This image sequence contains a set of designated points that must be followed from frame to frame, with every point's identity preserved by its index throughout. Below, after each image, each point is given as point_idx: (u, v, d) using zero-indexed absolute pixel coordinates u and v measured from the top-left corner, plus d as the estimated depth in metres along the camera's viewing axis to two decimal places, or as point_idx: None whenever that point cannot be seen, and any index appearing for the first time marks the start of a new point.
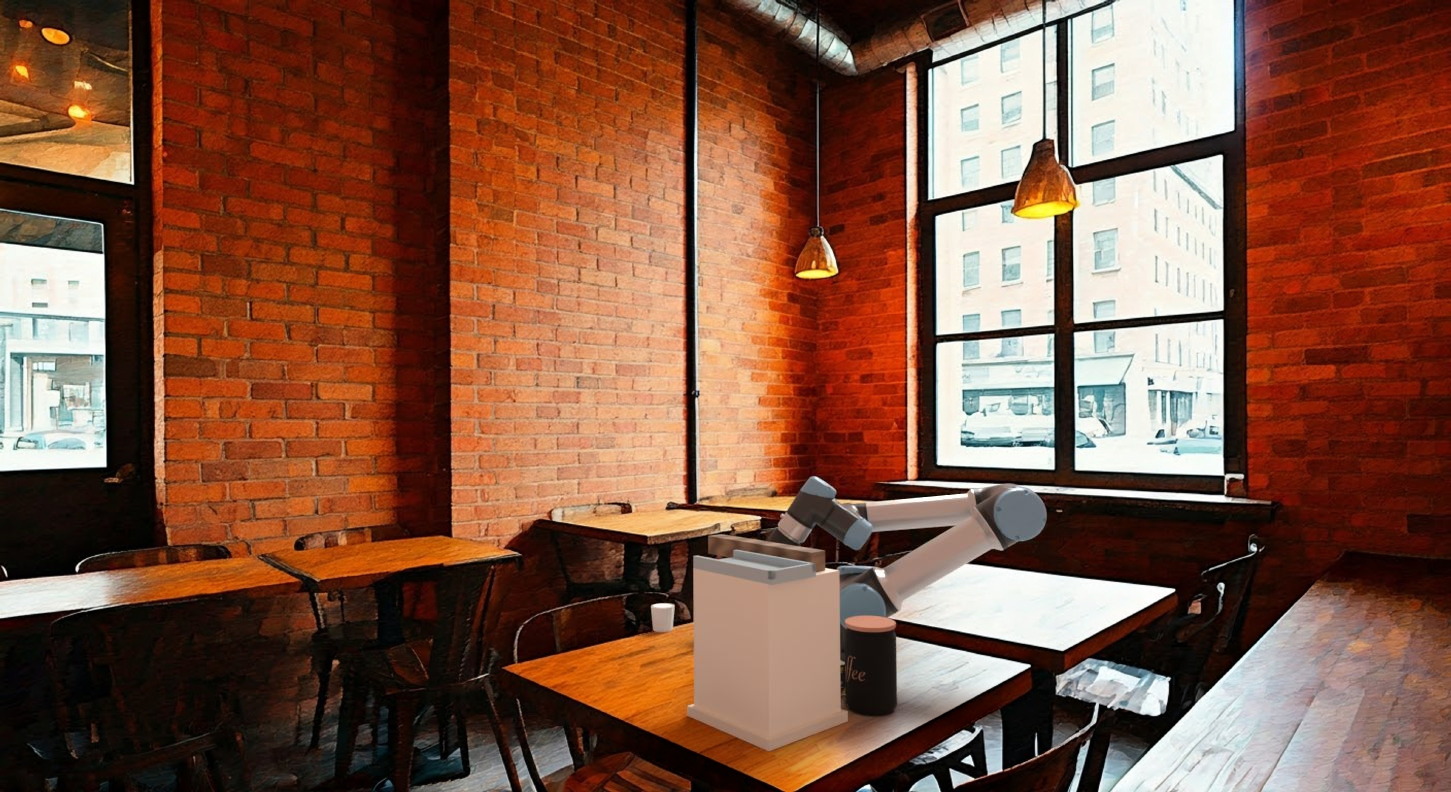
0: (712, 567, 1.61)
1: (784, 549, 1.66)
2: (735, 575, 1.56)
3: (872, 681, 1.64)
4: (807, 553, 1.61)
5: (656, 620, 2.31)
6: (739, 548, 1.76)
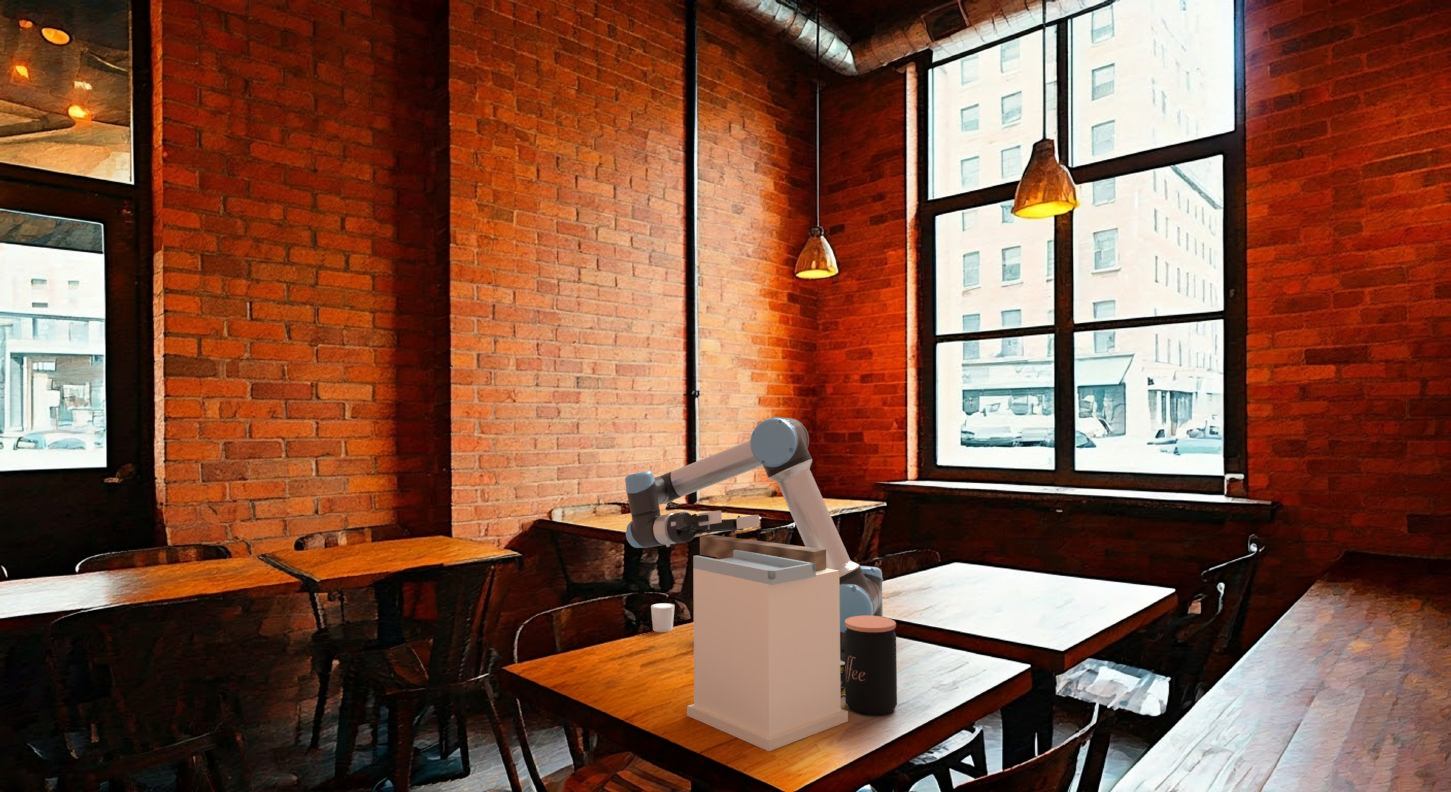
0: (712, 567, 1.61)
1: (784, 549, 1.66)
2: (735, 575, 1.56)
3: (872, 681, 1.64)
4: (809, 552, 1.62)
5: (656, 620, 2.31)
6: (734, 549, 1.76)
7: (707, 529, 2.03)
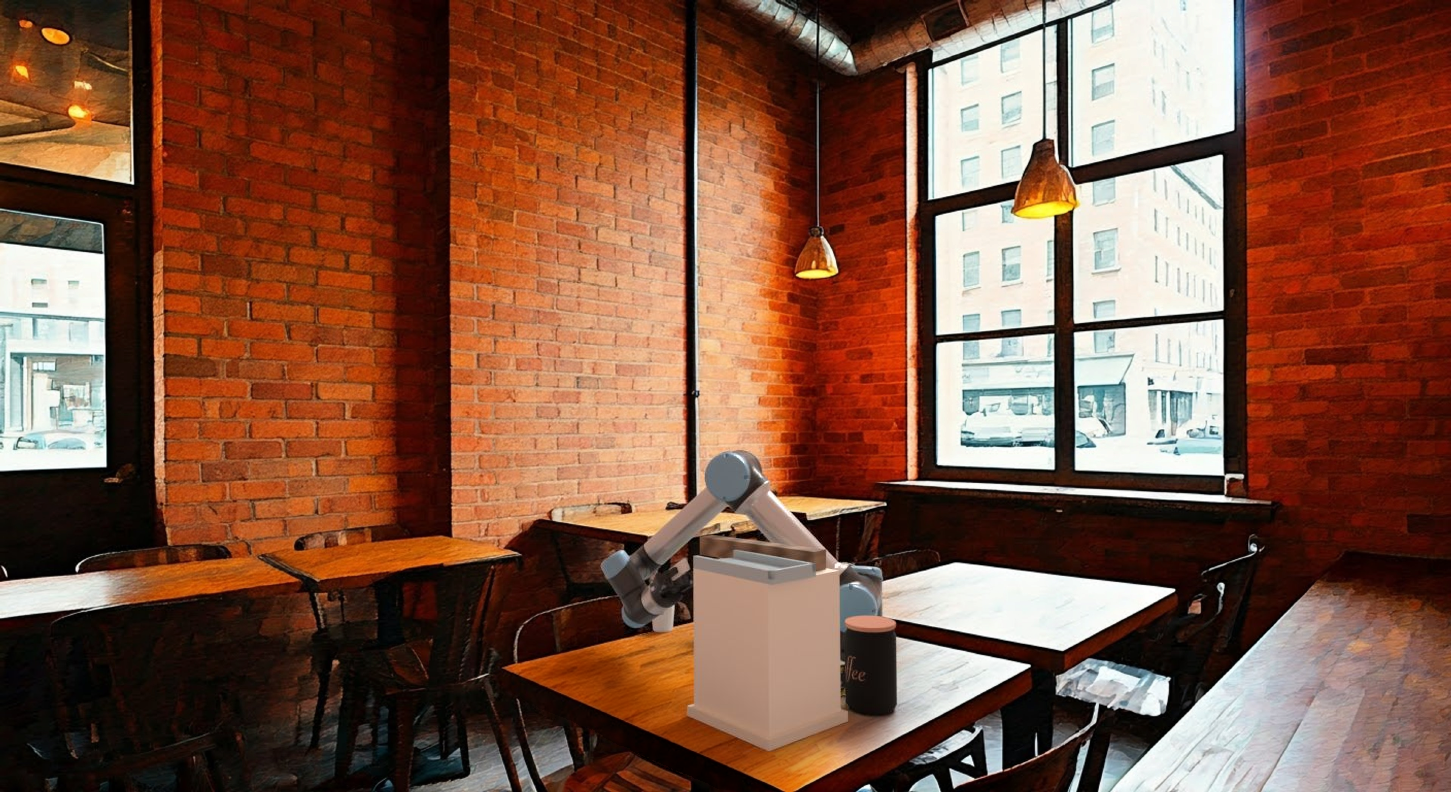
0: (712, 567, 1.61)
1: (784, 549, 1.66)
2: (735, 575, 1.56)
3: (872, 681, 1.64)
4: (809, 552, 1.62)
5: (656, 620, 2.31)
6: (734, 549, 1.76)
7: None
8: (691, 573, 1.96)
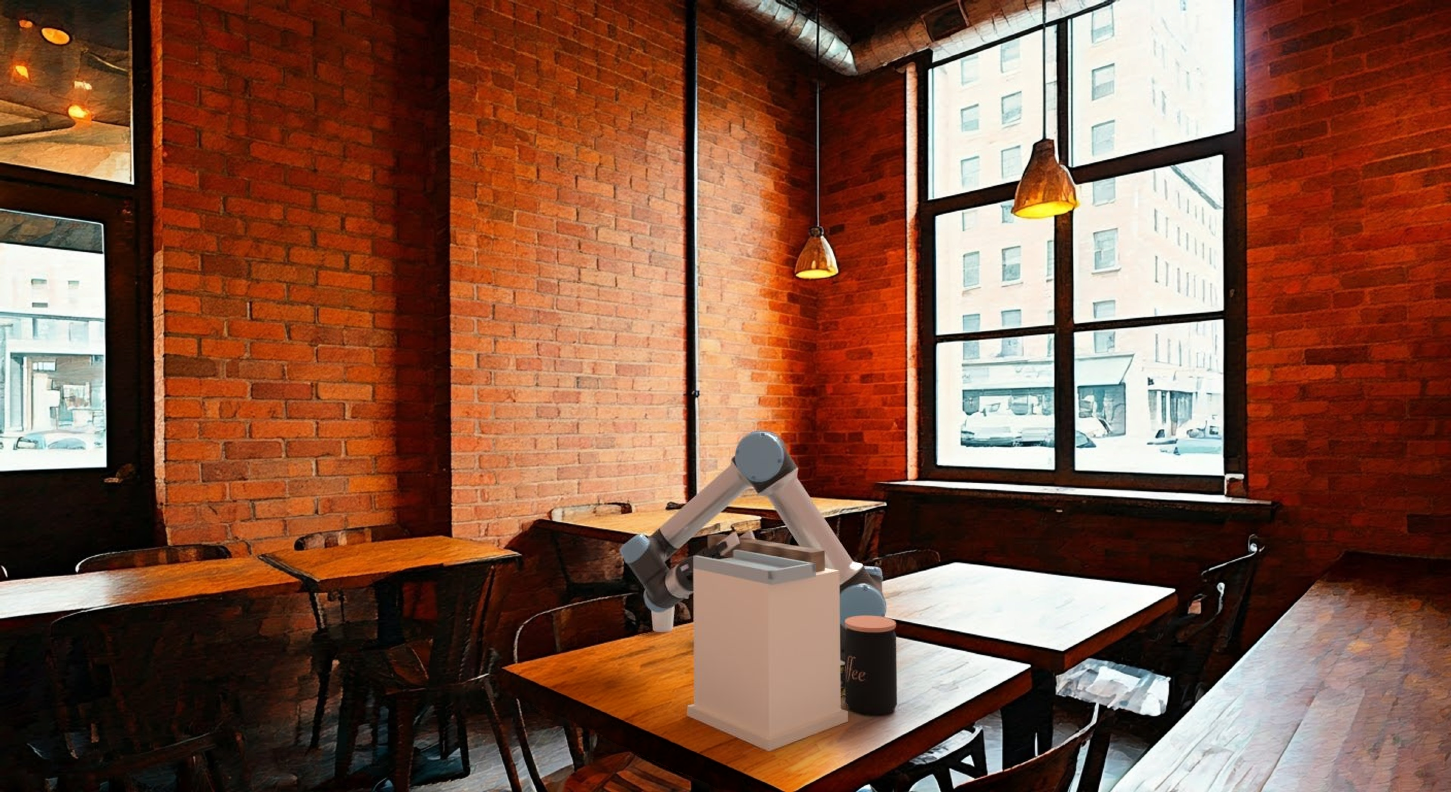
0: (712, 567, 1.61)
1: (784, 549, 1.66)
2: (735, 575, 1.56)
3: (872, 681, 1.64)
4: (807, 553, 1.61)
5: (656, 620, 2.31)
6: (739, 548, 1.76)
7: None
8: None
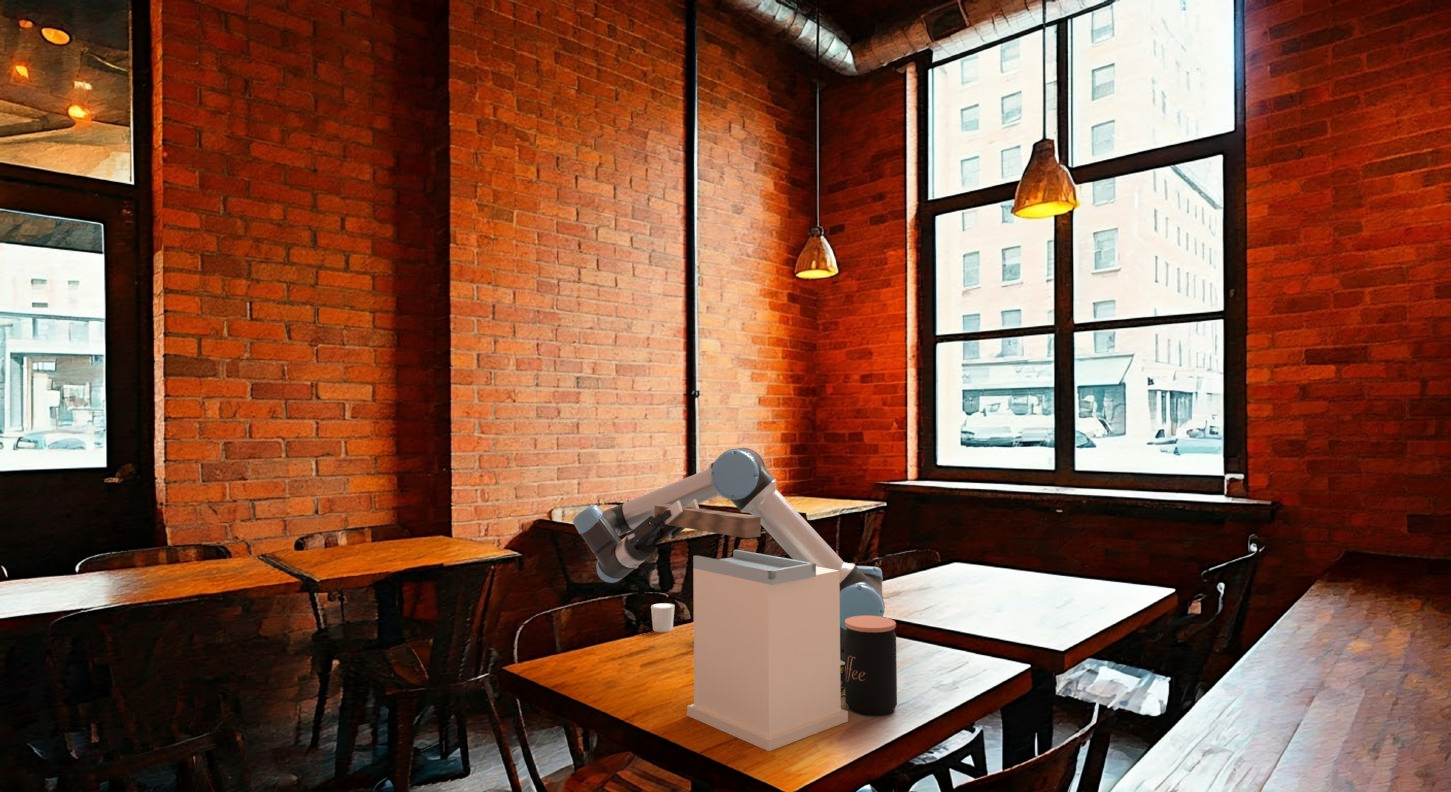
0: (712, 567, 1.61)
1: (722, 516, 1.69)
2: (735, 575, 1.56)
3: (872, 681, 1.64)
4: (742, 519, 1.64)
5: (656, 620, 2.31)
6: (682, 517, 1.80)
7: None
8: None
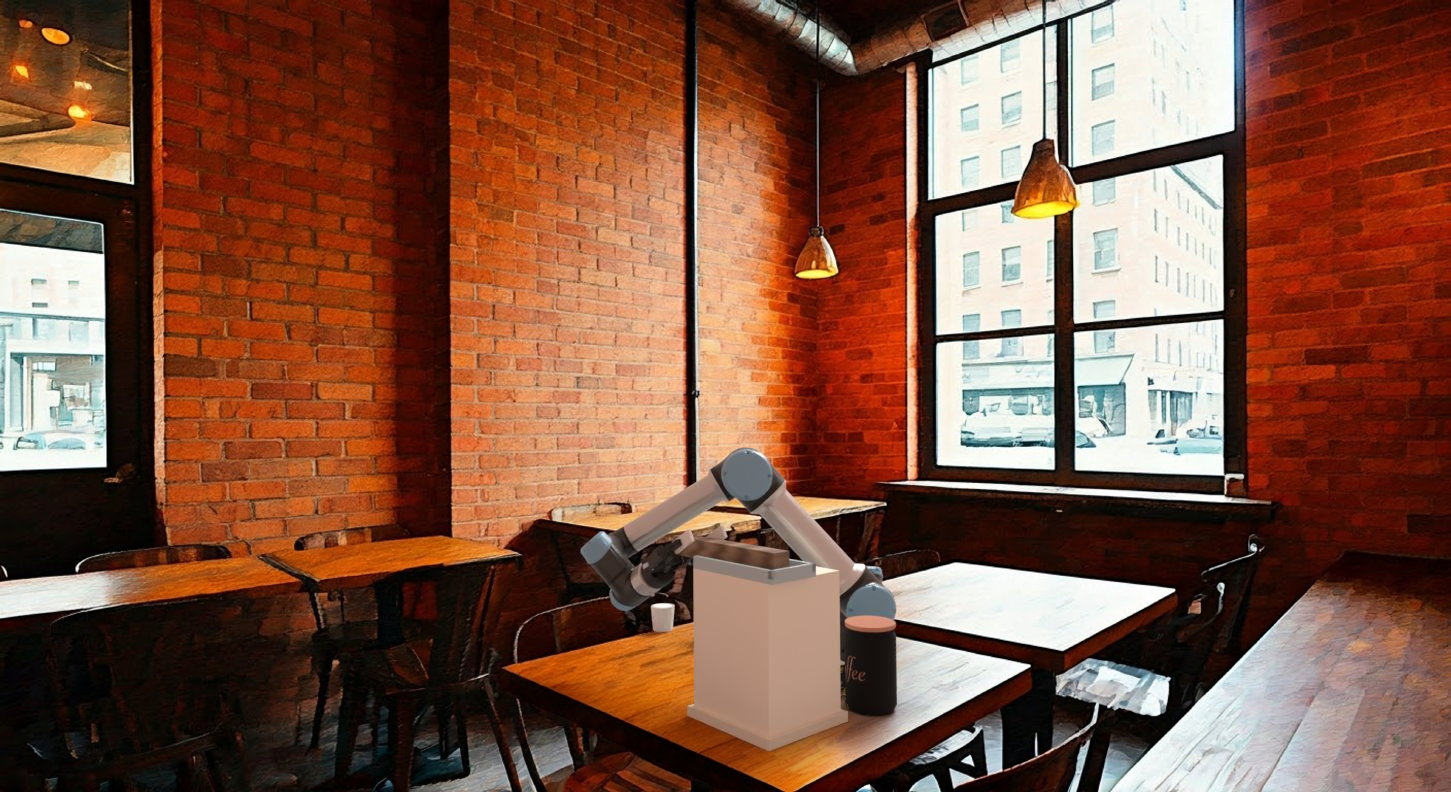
0: (712, 567, 1.61)
1: (747, 549, 1.59)
2: (735, 575, 1.56)
3: (872, 681, 1.64)
4: (770, 554, 1.55)
5: (656, 620, 2.31)
6: (703, 549, 1.70)
7: None
8: None
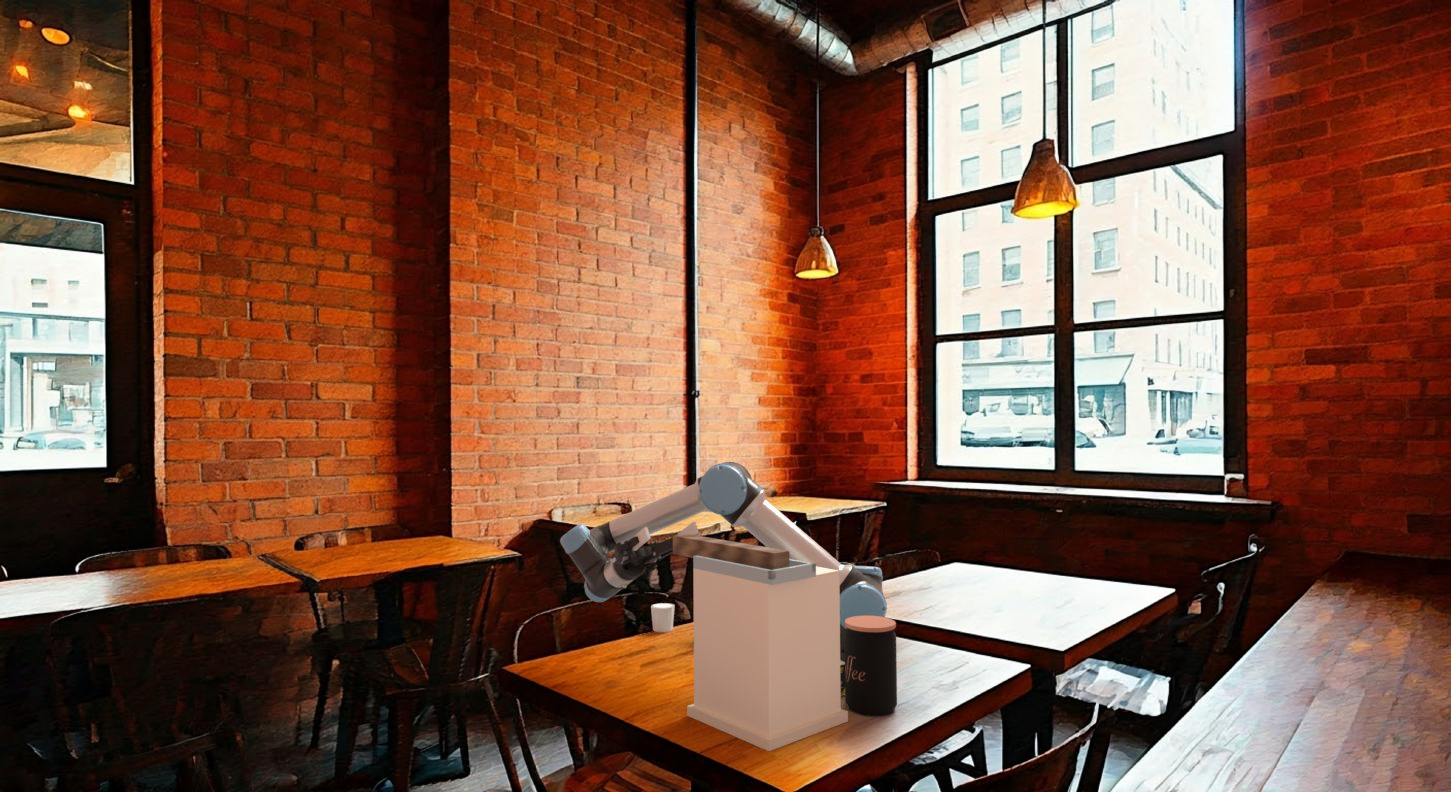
0: (712, 567, 1.61)
1: (747, 549, 1.59)
2: (735, 575, 1.56)
3: (872, 681, 1.64)
4: (770, 554, 1.55)
5: (656, 620, 2.31)
6: (703, 549, 1.70)
7: None
8: (654, 545, 1.91)
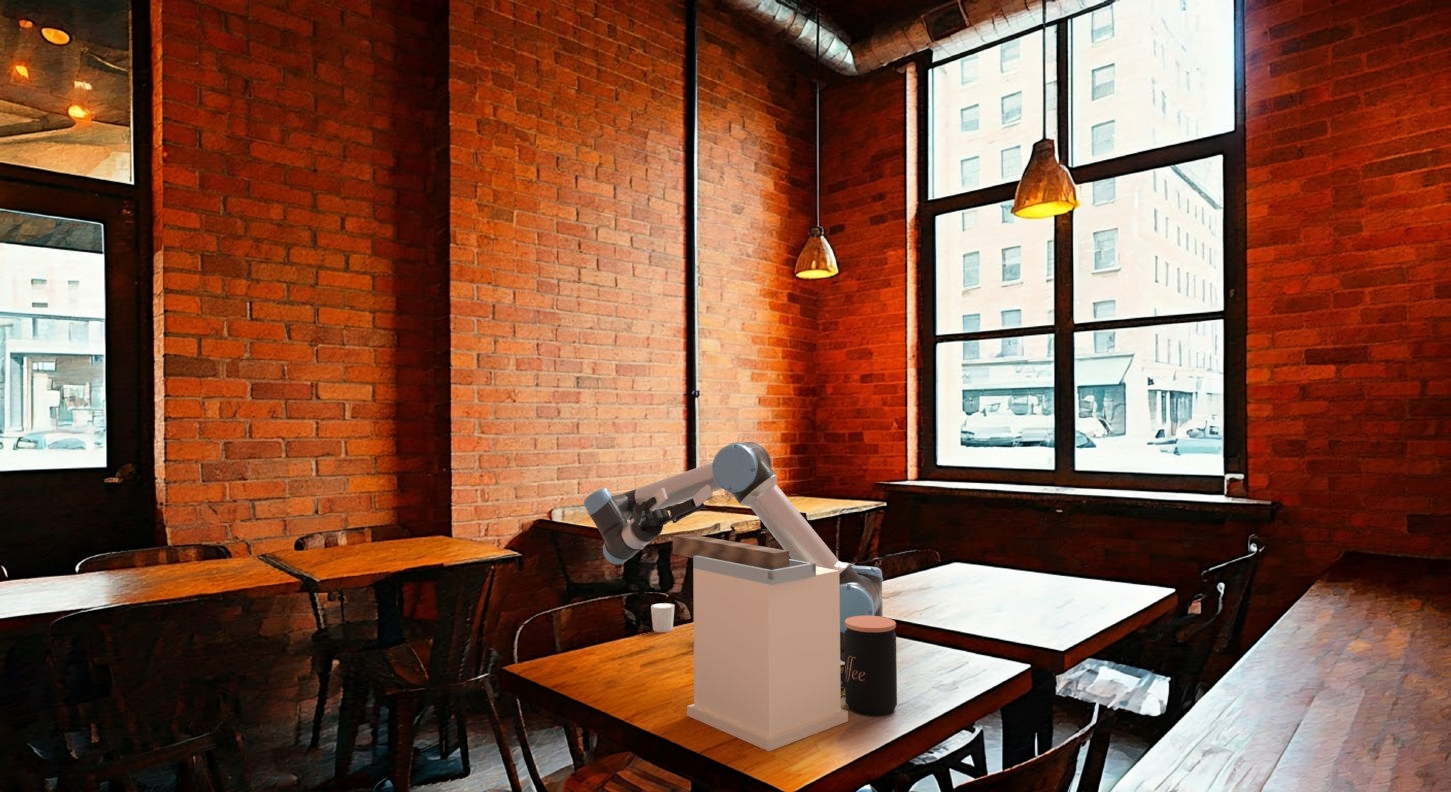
0: (712, 567, 1.61)
1: (747, 549, 1.59)
2: (735, 575, 1.56)
3: (872, 681, 1.64)
4: (770, 554, 1.55)
5: (656, 620, 2.31)
6: (703, 549, 1.70)
7: (673, 519, 2.04)
8: (670, 507, 2.01)
